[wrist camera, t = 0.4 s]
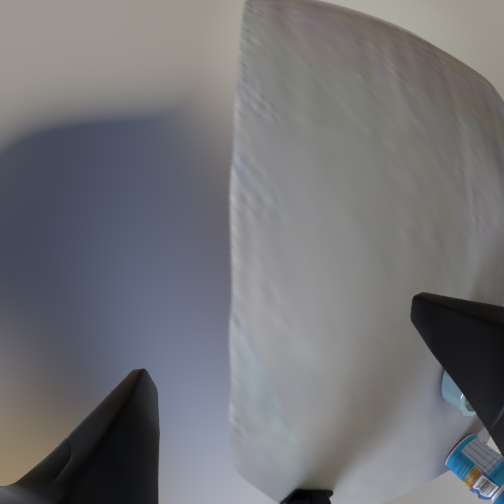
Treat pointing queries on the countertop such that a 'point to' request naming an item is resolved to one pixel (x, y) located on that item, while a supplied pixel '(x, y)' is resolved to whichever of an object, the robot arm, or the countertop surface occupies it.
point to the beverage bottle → (478, 468)
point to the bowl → (455, 396)
